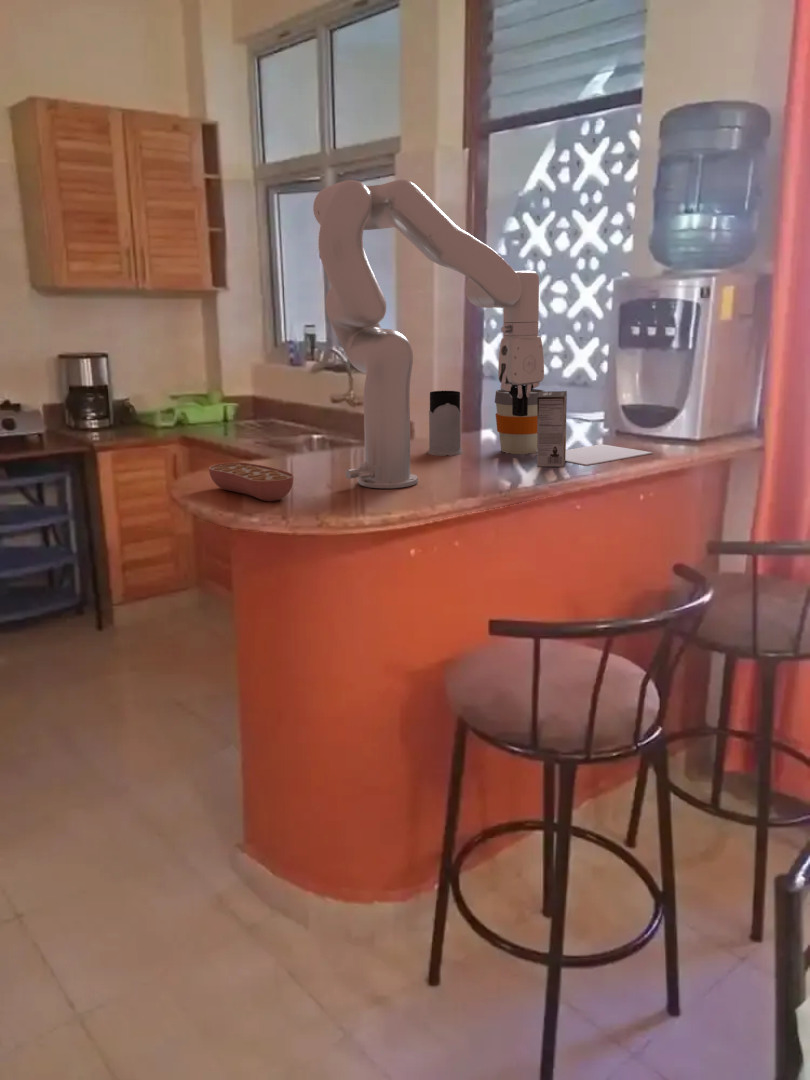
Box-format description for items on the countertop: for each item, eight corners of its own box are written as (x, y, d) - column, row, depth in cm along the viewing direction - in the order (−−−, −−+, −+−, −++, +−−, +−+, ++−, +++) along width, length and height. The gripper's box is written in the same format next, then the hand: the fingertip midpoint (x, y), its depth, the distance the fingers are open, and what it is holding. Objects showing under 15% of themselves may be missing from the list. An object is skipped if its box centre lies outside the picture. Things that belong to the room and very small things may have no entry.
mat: (586, 465, 200) (586, 464, 200) (536, 456, 212) (536, 455, 212) (652, 453, 214) (652, 452, 214) (601, 445, 226) (601, 444, 226)
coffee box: (538, 458, 208) (539, 391, 203) (566, 458, 207) (567, 390, 202) (536, 466, 199) (536, 396, 195) (564, 467, 198) (566, 396, 194)
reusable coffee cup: (539, 456, 212) (540, 394, 208) (488, 454, 216) (489, 393, 212) (547, 448, 223) (549, 388, 219) (499, 445, 227) (501, 387, 223)
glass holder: (430, 456, 214) (430, 394, 210) (422, 446, 228) (421, 388, 224) (465, 454, 215) (465, 393, 211) (454, 445, 229) (455, 387, 225)
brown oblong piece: (202, 490, 181) (200, 466, 179) (243, 483, 187) (241, 460, 186) (264, 508, 164) (263, 482, 163) (307, 500, 171) (306, 475, 170)
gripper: (507, 332, 181) (507, 421, 186) (557, 329, 190) (555, 413, 195) (483, 332, 187) (483, 417, 192) (533, 328, 196) (531, 410, 201)
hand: (519, 415), depth 194 cm, fingers closed
